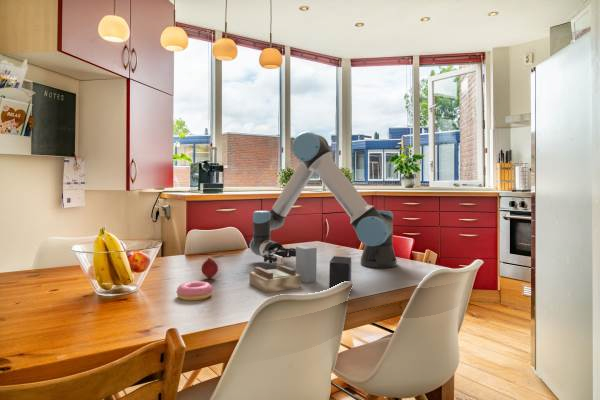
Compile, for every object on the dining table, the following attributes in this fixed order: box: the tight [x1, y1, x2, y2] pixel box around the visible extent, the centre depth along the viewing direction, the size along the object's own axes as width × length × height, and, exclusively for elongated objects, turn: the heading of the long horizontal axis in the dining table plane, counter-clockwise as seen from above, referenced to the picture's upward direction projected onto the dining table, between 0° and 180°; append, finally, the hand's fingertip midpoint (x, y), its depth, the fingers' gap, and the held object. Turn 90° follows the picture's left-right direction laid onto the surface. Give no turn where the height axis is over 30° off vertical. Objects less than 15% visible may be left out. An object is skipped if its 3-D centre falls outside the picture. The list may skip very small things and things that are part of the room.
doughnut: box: [175, 280, 214, 302], centre depth 124 cm, size 11×11×4 cm
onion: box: [201, 256, 219, 279], centre depth 146 cm, size 6×6×8 cm
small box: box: [328, 255, 352, 289], centre depth 130 cm, size 11×6×10 cm, turn 168°
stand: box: [248, 263, 302, 293], centre depth 137 cm, size 13×13×6 cm
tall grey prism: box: [295, 244, 318, 284], centre depth 144 cm, size 5×6×12 cm
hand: (298, 259), depth 148 cm, fingers open, 13 cm apart
